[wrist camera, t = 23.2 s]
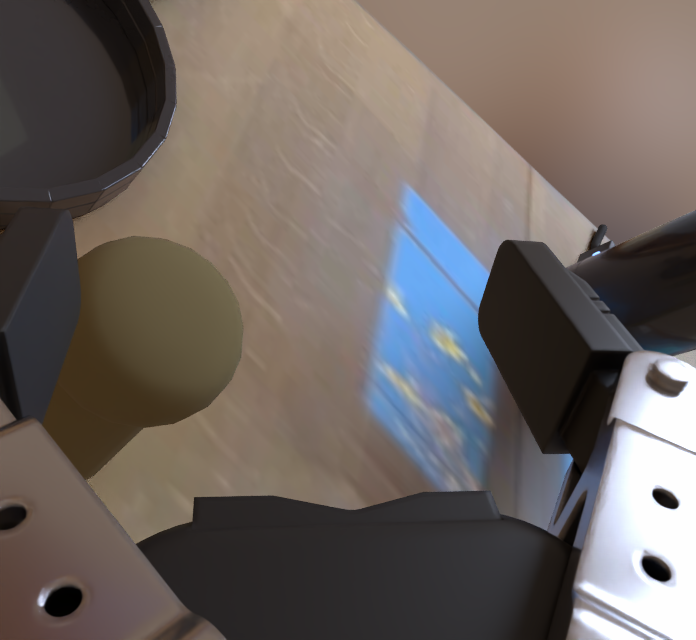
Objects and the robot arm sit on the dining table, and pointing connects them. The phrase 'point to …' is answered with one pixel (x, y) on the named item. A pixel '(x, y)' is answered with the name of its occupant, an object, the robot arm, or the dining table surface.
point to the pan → (79, 101)
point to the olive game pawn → (142, 347)
